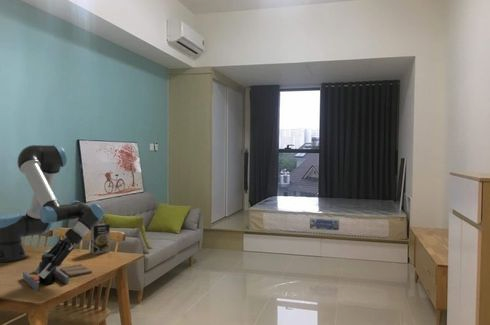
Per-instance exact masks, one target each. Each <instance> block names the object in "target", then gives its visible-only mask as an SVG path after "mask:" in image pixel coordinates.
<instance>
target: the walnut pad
mask: <svg viewBox="0 0 490 325" xmlns="http://www.w3.org/2000/svg"><path fill="white" fill-rule="evenodd" d="M59 270H60V271H61V272H63V273H64V274H66V275H67V276H68V277H69V278H75V277H79V276H84V275H88V274H92V273H93V272H92V270H91V269H90V268H88V267H86V266H85V265H83V264H82V263H81V264H75V265H69V266H64V267H60V269H59Z"/></svg>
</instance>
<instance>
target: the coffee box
mask: <svg viewBox="0 0 490 325" xmlns="http://www.w3.org/2000/svg"><path fill="white" fill-rule="evenodd" d="M110 225H111V224H109V223H106V222H104V223H102V222H101V223H96V224H95V226H94V227H93V228H92V229H91V230H90V244H89V246H90V249H89V252H90V253H91V254H93V255H97V254H98V255H99V254H105V253H110V234H111V233H110V231H111V230H110V227H111V226H110Z"/></svg>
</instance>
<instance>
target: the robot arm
mask: <svg viewBox="0 0 490 325" xmlns="http://www.w3.org/2000/svg"><path fill="white" fill-rule="evenodd" d="M67 156H68V155H67V153H66V150H65V149H64V148H63V147H62V146H60V145H55V144H52V145H41V144H40V145H35V144H33V145H29V146H26V147H25V148H23V149H22V150H20V152H19V154H18V157H17V168H18V170H19V171H20V173H22V174H24V176H25V178H26V180H27V182H28V184H29V186H30V187H31V189H32V191H33V194H32V199H31V205H30V208H28V209H27V210H26V214H24V215H23V214H22V213H9V214H5V215H2V216H0V263H9V262H16V261H21V260H23V259H24V258H26V255H27V254H26V251H25V247H24V245H23V243H22V241H23V240H22V239H23V238H25V237H31V236H36V235H39V236H40V235H43V234H47V233H48V232H49V231H50V230H51V228H52V226H53V223H57V222H58V223H59V222H63V221H71V220H76V221H75V222H74V223H73V224H72V225H71V226H70V227H71V228H69V229H68V230H67V231H66V232H65V233H64V236H65V238H64V239H62V238H61V239H59V240H58V242H57V243H56V244H55V245H54V246H53V247H52V248H51V249H49V250H50V251H49V252H48V253H47V254H53V255H54V257H55V256H56V257H55V258H54V260H53V261H50V263H49V264H48V265H47V266H46V267H45V269H44V270H43V271H42V272H41V273H40V274H39V265H37V267H36V268H35V269H34V270H33V272H35V273H36V274H38V275H39V276H41V277H42V278H43V279H44V278H45V277H46V276H47V275H48V274H49V273H50V272H51V271H52V269H53V268H54V267H55V266H58V267H60V266H61V265H60V264H61V263H62V264H63V262H64V260H65V259H66V258H67V257H68V255H69V254H70V253H72V251H73V250H74V249H75V247H74V245H79V244H80V242H81V241H82V240H83V238H85V237H86V235H88V234H89V232H91V229H92V228H93V227H94V226H95V224H98V223H99V221H100V220H101V219H102V218H103V217H104V215H105V213H106V212H105V210H104V209H103V208H102V206H100V205H98V204H97V203H92V204H91V205H87V204H86V203H85V202H82V201H79V200H73V201H71V202H70V203H68V204H67V203H66V204H60V203H59V200H58V198H57V196H56V195H55V192H54V191H53V189H54V183H55V178H56V175H57V174H59V173H60V170H61V168H64V167H65V166H67V163H68V157H67ZM51 263H52V264H51ZM59 265H60V266H59Z"/></svg>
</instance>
